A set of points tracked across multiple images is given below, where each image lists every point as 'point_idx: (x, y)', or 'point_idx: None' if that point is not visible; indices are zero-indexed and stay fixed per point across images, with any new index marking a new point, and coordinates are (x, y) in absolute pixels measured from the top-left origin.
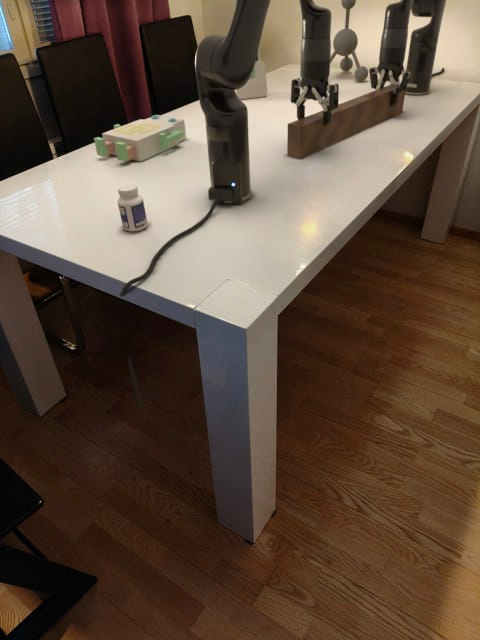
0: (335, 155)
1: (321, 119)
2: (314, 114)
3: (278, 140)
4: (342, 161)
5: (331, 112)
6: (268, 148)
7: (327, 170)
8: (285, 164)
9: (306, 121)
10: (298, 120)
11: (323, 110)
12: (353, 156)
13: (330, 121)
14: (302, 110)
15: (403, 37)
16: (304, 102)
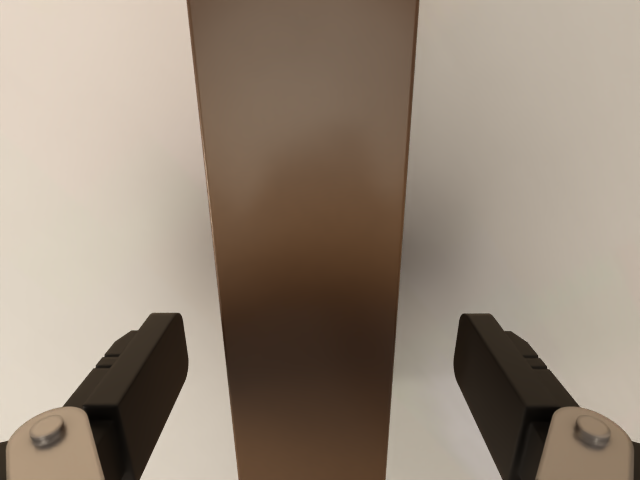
0: (492, 244)
1: (394, 323)
2: (239, 264)
3: (38, 239)
4: (570, 293)
5: (360, 69)
6: None
7: None
8: None
9: (334, 465)
10: (254, 477)
11: (203, 47)
12: (597, 196)
13: (523, 342)
14: (150, 406)
15: None
16: (97, 450)
